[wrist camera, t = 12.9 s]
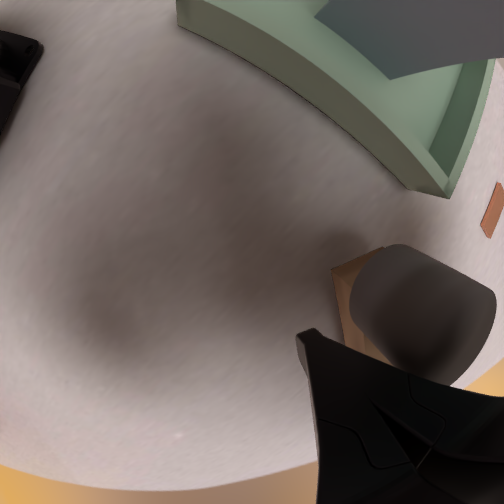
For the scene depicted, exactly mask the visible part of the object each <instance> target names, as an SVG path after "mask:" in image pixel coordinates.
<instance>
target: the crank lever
mask: <svg viewBox="0 0 504 504" xmlns="http://www.w3.org/2000/svg"><path fill="white" fill-rule="evenodd" d="M331 273H332V277H333V282H334V287H335V292H336V297H337V302H338V307H339V313H340V318H341V324H342V329H343V335H344V341H345V346H347V347H349V348H352V349H354V350H356V351H358V352H361V353H363V354H365V355H368V356H370V357H372V358H375V359H377V360H380V361H382V362H384V363H387V364H389V365H392V366H394V367H397V368H399V369H401V370H404V371H406V372H407V373H412V374H414V375H417V376H419V377H422V378H425V379H428V380H431V381H433V382H436V383H440V384H443V385H447V386H450V385H451V384H453V383H454V382H455V381H456V380H457V379H458V378H459V377H460V376H461V375H462V374H463V373H464V372H465V371H466V370H467V369H468V368H469V366H470V365H471V364H472V363H473V361H474V360H475V359H476V357H477V356H478V354H479V353H480V351H481V349H482V348H483V346H484V344H485V342H486V340H487V338H488V336H489V334H490V331H491V329H492V326H493V323H494V319H495V314H496V307H497V302H496V296H495V294H494V292H493V291H492V290H491V289H489V288H487V287H486V286H484V285H482V284H480V283H479V282H477V281H475V280H473V279H471V278H470V277H468V276H466V275H464V274H462V273H460V272H459V271H457V270H455V269H453V268H451V267H449V266H447V265H445V264H443V263H441V262H440V261H438V260H436V259H434V258H432V257H430V256H428V255H426V254H424V253H422V252H420V251H418V250H416V249H414V248H412V247H410V246H407V245H403V244H395V245H391V246H388V247H386V248H384V247H380V248H378V249H376V250H374V251H372V252H369V253H367V254H365V255H363V256H361V257H358V258H356V259H354V260H352V261H350V262H347V263H345V264H343V265H340V266H338V267H336V268H334V269H331Z"/></svg>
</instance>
